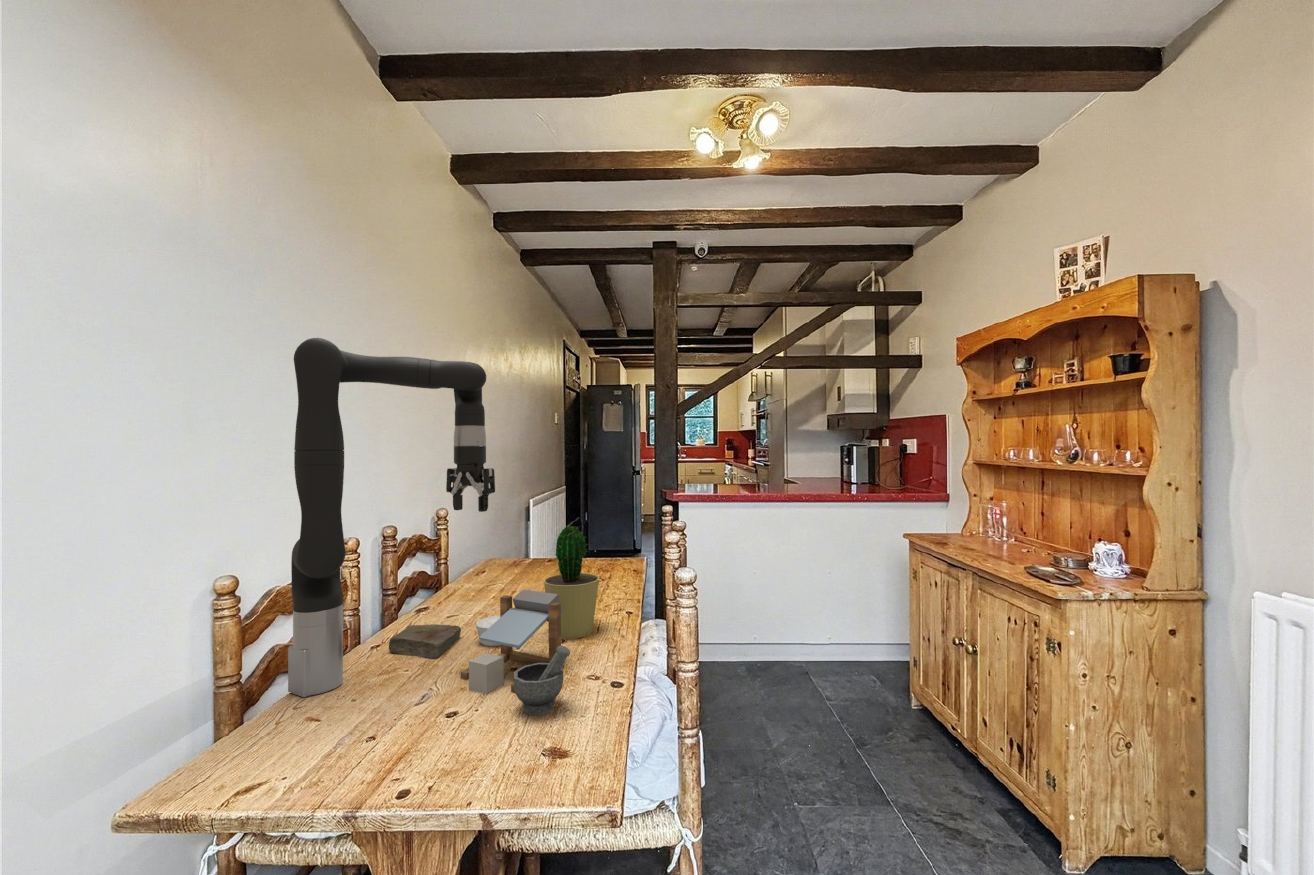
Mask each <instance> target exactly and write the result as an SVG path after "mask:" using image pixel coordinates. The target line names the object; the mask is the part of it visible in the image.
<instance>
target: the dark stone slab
mask: <svg viewBox="0 0 1314 875" xmlns="http://www.w3.org/2000/svg"><path fill="white" fill-rule="evenodd" d="M461 632H462V628H461V626H460V625H451V624H437V623H436V624H413V625H412V624H411V625H408V626H407V627H405V628H404V629H403V630H402V631H400V632H397V633H396V634H395V635H393V636H392V637H391V638H390V639H389V642H388V650H389V651H390V652H391V653H393V654H395V655H399V656H410V657H411V656H412V657H416V658H423V659H438V658H440V657H441V656H442V655H444V654H445V653H446V652H447V651H448V650H449V649H451V647H452V646H453V645H455V643H456V642H457V641H459V640H460V638H461Z"/></svg>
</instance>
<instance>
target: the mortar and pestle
mask: <svg viewBox="0 0 1314 875" xmlns="http://www.w3.org/2000/svg"><path fill="white" fill-rule="evenodd" d="M570 656H571V651H570V649H569V647H567V646H565V645H561V646H558V647H557V652H556V653H555V655H554V657H553V658H552V660H551V661H550V663H535V664H531V665H530V664H527V665H526V664H525V665H523V666H522V667H520V668H518V669H516V670H515V671H514V672H513V683H514V689H515V692H514V694H515V696H516V697H517V699H518V700H519V701H520V702H522V706H523V707H522V709H523V711H522V712H523V713H524V714H526V715H529V716H542V715H545V714H549V713H550V712H551V711H553V710H555V699H556V698H557V697H558V696H559V694H560V693H561V691H562V689H563V685H564V668H562V666H563V664H565V663H566V660H567V658H568V657H570Z"/></svg>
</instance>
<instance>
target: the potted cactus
mask: <svg viewBox="0 0 1314 875" xmlns="http://www.w3.org/2000/svg"><path fill="white" fill-rule="evenodd" d="M556 534H557V535H556ZM556 534H555V536H556V537H557V539H556V540H555V542H556V543H553V544H554V546H555V548H553V549H554V551H553V552H554V555H553V556H552V558H553V557H554V558H553V561H558V562H557V566H558V568H557V571H556V572H558V574H554V575H550V576H548V577H545V578H544V579H543V584H544V586H543V587H544V592H545V593H552V594H558V596H559V599H560V603H561V607H562V610H563V613H562V614H561V640H574V639H581V638H585V637H587V636H589V635H590V634H592V633H593V630H594V623H595V622H594V621H595V614H596V607H597V598H598V590H599V585H600V584H599V583H600V576H599V575H597V574H593V573H587V572H582V569H583V562H584V559H583V558H585V556H586V552H587V548H586V547H587V545H589V544H588V543H587V544H586V539H585V538H586V536H584V535H583V534H584V532H583V531H581V530H580V527H578V526H575V525H574V526H573V525H571V526H565V527H563V528H562V529H561V532H560V531H559V533H558V532H556Z"/></svg>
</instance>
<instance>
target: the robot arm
mask: <svg viewBox="0 0 1314 875" xmlns="http://www.w3.org/2000/svg"><path fill="white" fill-rule="evenodd" d="M293 365H294V371H295V380H296V387H297V388H296V389H297V413H296V422H295V435H294V448H293V449H294V459H293V460H294V462H293V463H294V464H293V465H294V468H293V469H294V476H295V477H294V479H295V486H296V491H297V496H298V500H299V505H300V512H301V513H300V515H301V517H300V518H301V522H300V531H299V532H300V533H299V534H300V535H299V539H298V540H297V541H296V542H295V544H294V546H293V547H292V551H291V565H290V566H291V567H290V568H291V572H290V573H291V596H292V597H291V598H292V645H289V646H288V648H287V653H288V654H287V655H288V657H287V668H288V669H287V670H288V671H287V675H288V676H287V692H288V693H290V694H293V695H297V696H299V697H301V698H306V697H310V696H313V695H319V694H324V693H326V692H327V693H328V692H329V691H333V690H335V689H337V688H338V687H340V686H341V685H342V684H343V682H344V676H343V675H344V591H343V587H342V581H341V567H342V566H343V563H344V561H345V558H346V554H347V552H346V544H345V537H344V530H343V528H344V527H343V521H342V520H343V519H342V518H343V517H342V506H343V505H342V502H343V494H344V479H345V477H344V476H345V442H344V440H345V439H344V431H343V426H342V420H341V415H340V407H339V393H340V392H339V391H340V384H341V383H373V384H384V385H385V384H386V385H390V386H401V387H408V388H409V387H411V388H417V389H428V390H429V389H430V390H432V389H433V390H437V389H438V390H439V389H453V396H454V404H455V405H454V406H455V407H454V408H455V409H454V431H453V463H454V464H455V465H456V467H453V468H451V467H450V468H447V470H446V488H445V489H446V490H445V491H446V493H450V494H451V495H452V507H453V510H454V511H462V510H463V505H464V504H463V502H464V501H463V492H464V491H465V489H466V488H467V487H468V486H469V487H472V488H473V489H474V490H476V493H477V494H478V498H477V499H478V500H477V504H478V506H477V507H478V510H477V511H478V512H482V513H483V512H487V511H488V508H489V496H490V494H495V492H496V482H495V481H496V479H495V478H496V476H495V469H494V468H492V467H491V468H490V467H488V468H487V467H486V468H485V466H484V465H485V464H486V462H487V433H486V427H485V426H486V420H485V418H486V417H485V414H486V413H485V412H486V411H485V406H484V405H483V387H484V386H485V384H486V382H487V373H486V370H485V369H484V368H483V367H482V366H481V365H480V364H478V363H476V362H472V361H463V360H462V361H461V360H436V359H429V358H422V357H414V356H413V357H412V356H373V355H365V354H364V355H363V354H362V355H361V354H358V353H353V352H348V351H344V350H341V349H340V348H339V347H338V346H337V345H335V343H333V342H331V341H330V340H327V339H325V338H322V337H312V338H307V339H306V340H304V341H302V342H301V343H300V344H299V345H298V346H297V347H296V350H295V351H294V354H293Z"/></svg>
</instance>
